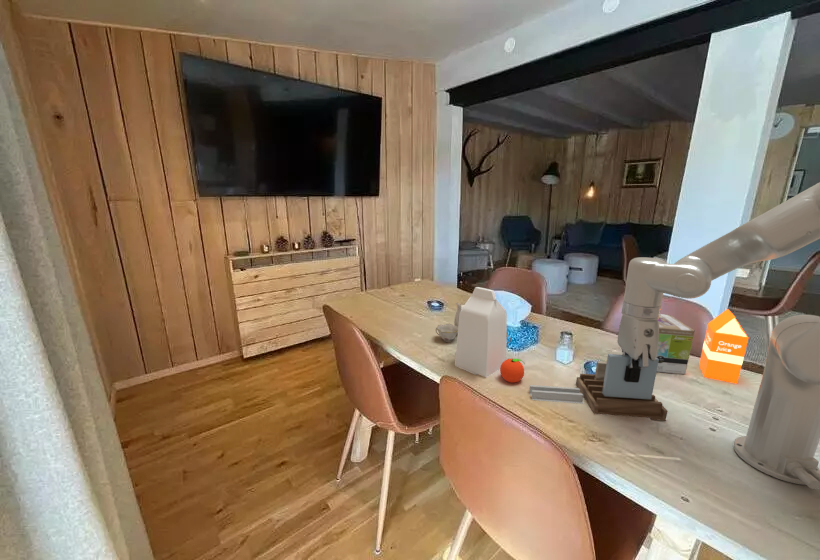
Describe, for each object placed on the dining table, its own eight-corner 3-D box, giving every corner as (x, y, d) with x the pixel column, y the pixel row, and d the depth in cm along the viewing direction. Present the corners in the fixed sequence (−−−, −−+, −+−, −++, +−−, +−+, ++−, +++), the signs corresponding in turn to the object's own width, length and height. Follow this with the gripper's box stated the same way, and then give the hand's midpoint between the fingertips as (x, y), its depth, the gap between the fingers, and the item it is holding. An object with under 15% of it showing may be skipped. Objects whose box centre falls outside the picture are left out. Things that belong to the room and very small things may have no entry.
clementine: (516, 372, 108) (518, 351, 106) (531, 383, 102) (533, 361, 100) (494, 377, 105) (496, 356, 104) (508, 389, 99) (510, 366, 97)
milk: (454, 365, 113) (457, 288, 106) (475, 354, 120) (478, 282, 114) (486, 379, 104) (490, 296, 98) (506, 366, 112) (511, 289, 106)
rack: (665, 420, 85) (671, 388, 83) (593, 415, 87) (598, 384, 85) (637, 389, 98) (642, 361, 96) (575, 385, 101) (579, 358, 98)
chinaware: (432, 349, 129) (432, 308, 123) (438, 328, 144) (438, 291, 138) (510, 355, 123) (514, 313, 118) (507, 333, 139) (510, 294, 133)
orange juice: (729, 371, 109) (744, 310, 104) (737, 384, 101) (754, 319, 96) (698, 365, 112) (710, 306, 108) (703, 377, 105) (717, 314, 100)
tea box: (687, 375, 106) (696, 330, 103) (650, 372, 108) (658, 327, 105) (662, 353, 121) (670, 313, 117) (631, 351, 123) (637, 311, 119)
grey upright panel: (651, 399, 86) (658, 359, 84) (604, 396, 88) (610, 356, 85) (648, 396, 88) (655, 356, 85) (602, 393, 89) (608, 353, 87)
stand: (583, 405, 91) (584, 396, 91) (532, 401, 93) (532, 393, 92) (576, 394, 96) (578, 386, 95) (528, 391, 98) (529, 383, 97)
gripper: (677, 322, 74) (663, 398, 79) (641, 300, 89) (630, 365, 94) (640, 320, 75) (627, 395, 80) (610, 299, 90) (600, 363, 95)
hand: (629, 379), depth 87 cm, fingers closed on grey upright panel, 1 cm apart
